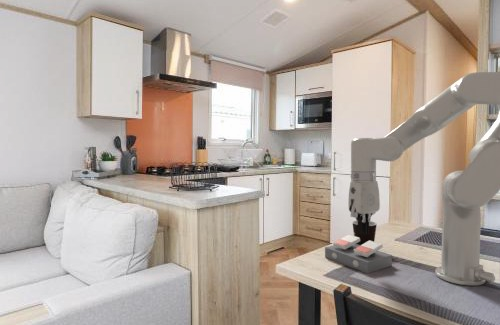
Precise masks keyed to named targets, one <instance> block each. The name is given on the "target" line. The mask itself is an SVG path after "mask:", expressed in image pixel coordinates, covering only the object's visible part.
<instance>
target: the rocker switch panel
mask: <svg viewBox="0 0 500 325" xmlns="http://www.w3.org/2000/svg"><path fill="white" fill-rule="evenodd" d="M359 246H361V245H357V244H354V245H352V246H350V247H349V248H347V249H345V250H344V249H341V248H338V247H335V246H334V245H330V246H329V245H328V246H326V247H324V258H327V259H328V260H332V261H334V262H337V263H340V264H342V265H345V266H347V267H350V268H352V269H355V270H357V271H360V272H362V273H365V274H370V273H374V272H376V271H379V270H382V269H386V268H389V267H392V266H393V265H392V264H393V262H392V261H393V255H392V254H390V253H387V252H383V251H380V250H378V251H376V252H374V253H373V254H371V255H370V256H368V257H365V256H362V255H359V254H356V253H354V249H356V248H357V247H359Z"/></svg>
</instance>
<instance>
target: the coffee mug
mask: <svg viewBox="0 0 500 325" xmlns="http://www.w3.org/2000/svg"><path fill="white" fill-rule="evenodd" d="M377 226H378V225H377V222H376V221H372V220H370V222H369V234H368V235H363V234H359V233H358V221H356V220H353V221H352V228H353V229H352V230H353V236H355V237H359V238H360V241H359V242H358V243H356V244H357V245H362V244H364V243H366V242H367V241H369V240H370V241H373V242H375V238H376V232H377Z"/></svg>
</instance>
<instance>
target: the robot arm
mask: <svg viewBox="0 0 500 325" xmlns="http://www.w3.org/2000/svg"><path fill="white" fill-rule="evenodd" d="M476 105H490V106H491V105H492V106H497V109H498V113H497V117H496V120H495V121H494V123H493V124H492V125H491V127H489V129H488V130H487V131H486V133H485V134H484V135H483V136H482V137H481V139H479V141H477V143H476V144H475V145H474V146H473V148H472V149H471V150H470V152H469V154H468V162H469V164H467V166H466V167H465V169H463V170H455V171H452V172H450V173H449V174H447V175H446V176H445V178H444V179H443V181H442V184H441V202H442V223H441V224H442V226H441V227H442V228H441V258H440V260H441V262H440V264H441V266H438V267H436V268H435V273H434V274H435V275H436V276H437V277H438V278H439V279H441V280H443V281H446V282H449V283H452V284H457V285H461V286H470V287H471V286H481V285H484V284H486V282H489V283H495V280H496V276H495V274H494V273H493V272H489V271H485V269H484V265H483V264H480V255H481V254H480V252H481V228H482V217H481V216H482V214H481V208H482V207H484V206H485V205H487V204H488V203H489V202H490V201H491V200H492V199H494V197H495V196H496V195H497V193H499V192H500V71H480V72H479V71H477V72H470V73H467V74H465V75H464V76H462V77H460V78H459V79H457V81H455V82H454V83H452V84H451V85H450V86H448V87H447V88H445V89H444V90H443V91H442V92H440V93H439V94H438V95H436V96H435V97H433V98H432V99H431V100H430V101H428V102H426V103H425V104H424V105H422V106H421V107H420V108H419V109H417V110H416V111H415V112H414V113H413V114H412V115H411V116H410V117H409V118H407V119H406V120H405V121H404V122H403V123H401V124H400V125H399V126H397V127H396V128H395V129H393V130H392V131H391V132H390V133H388V134H386V135H385V136H384V137H378V138H377V137H376V138H373V137H357V138H353V139H352V140H351V143H350V183H349V191H348V211H349V212H350V217H351V218H354V219H355V221H358V233H359V234H363V235H368V234H369V222H370V221H372V220H371V218H372V216H374V215H375V214H376V213H377V212H378V211H379V210H380V208H381V206H380V205H381V204H380V203H381V202H380V201H381V200H380V190H379V184H378V180H377V161H383V162H394V161H397V160H399V159H400V158H401V157H402V155H403V154H404V152H405V151H407V150H408V149H409V148H411V147H412V146H413V145H415V144H417V143H418V142H419V141H422V140H424V139H425V138H427V137H429V136H433V135H434V134H436V133H437V132H439V131H441V130H442V129H444V128H445V127H446V126H448V125H449V124H451V123H452V122H454V121H455V120H456V119H458V118H459V117H460V116H462V115H463V114H465V113H466V112H467V111H469V110H470V109H472V108H474V106H476Z"/></svg>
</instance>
